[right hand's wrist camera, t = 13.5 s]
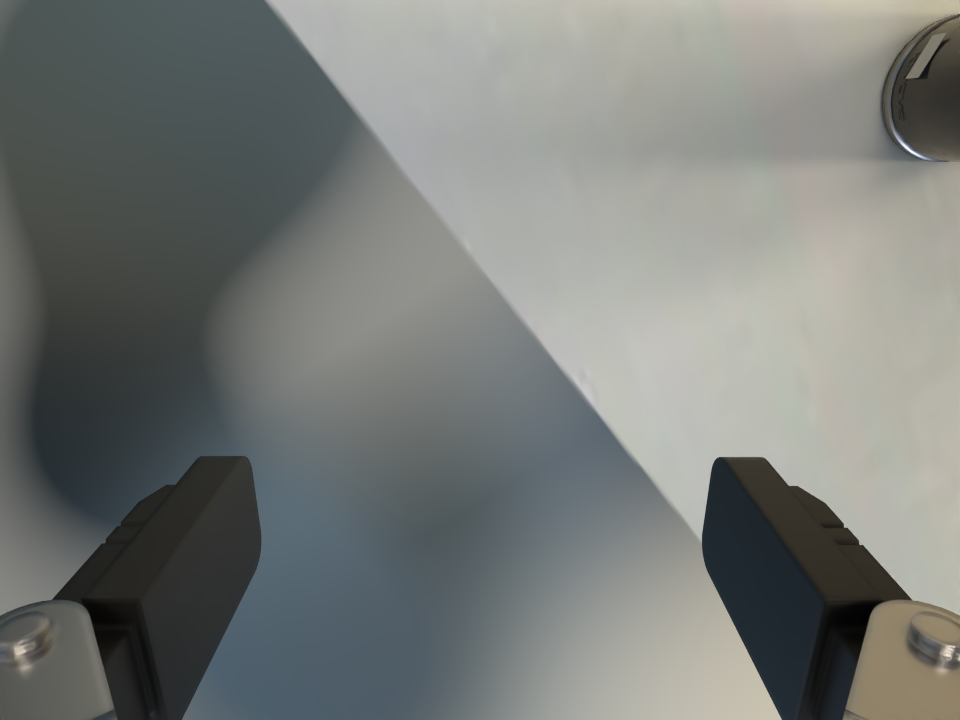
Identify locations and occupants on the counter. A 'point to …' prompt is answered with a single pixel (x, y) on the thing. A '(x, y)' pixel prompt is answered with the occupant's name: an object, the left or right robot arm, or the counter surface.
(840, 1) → the counter surface
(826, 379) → the counter surface
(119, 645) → the right robot arm
